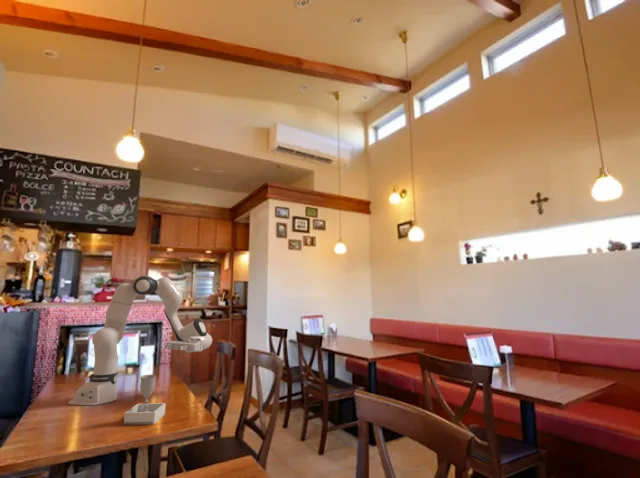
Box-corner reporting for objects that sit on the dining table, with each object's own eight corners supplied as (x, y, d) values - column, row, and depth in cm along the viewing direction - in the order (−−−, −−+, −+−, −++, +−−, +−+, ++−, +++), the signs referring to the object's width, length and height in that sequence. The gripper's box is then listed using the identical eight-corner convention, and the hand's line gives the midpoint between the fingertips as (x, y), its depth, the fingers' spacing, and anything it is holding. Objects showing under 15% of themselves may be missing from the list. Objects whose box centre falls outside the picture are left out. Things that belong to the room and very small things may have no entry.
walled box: (123, 424, 153) (124, 412, 154) (137, 414, 166) (138, 403, 167) (153, 424, 154) (154, 412, 155) (164, 414, 167) (165, 403, 167)
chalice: (136, 420, 155) (139, 378, 158) (136, 415, 161) (139, 375, 164) (154, 418, 159) (157, 377, 162) (153, 413, 165) (156, 373, 168)
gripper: (176, 337, 203) (158, 340, 191) (205, 339, 196) (188, 342, 184) (175, 348, 202) (157, 352, 190) (204, 351, 195) (187, 355, 183)
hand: (172, 347), depth 187 cm, fingers open, 8 cm apart
